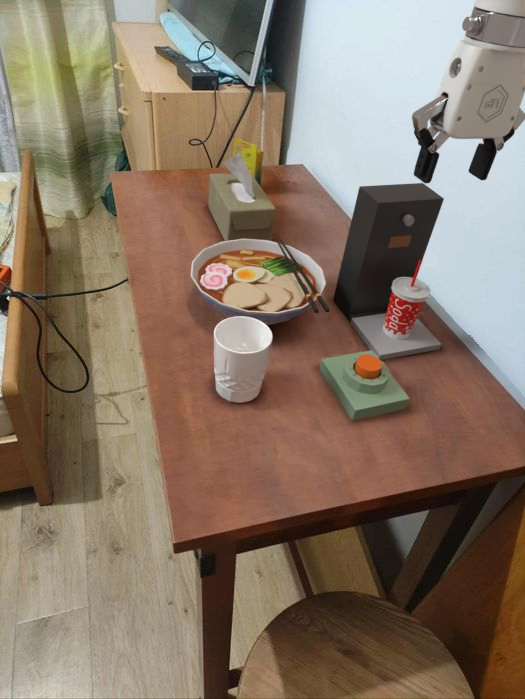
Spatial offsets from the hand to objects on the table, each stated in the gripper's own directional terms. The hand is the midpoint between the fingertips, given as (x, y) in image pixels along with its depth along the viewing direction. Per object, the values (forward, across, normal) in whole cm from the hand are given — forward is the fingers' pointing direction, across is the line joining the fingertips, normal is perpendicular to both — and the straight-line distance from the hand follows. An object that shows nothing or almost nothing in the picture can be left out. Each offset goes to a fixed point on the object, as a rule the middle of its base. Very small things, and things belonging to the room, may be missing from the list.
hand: (449, 177), depth 70 cm
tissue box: (+28, -14, +43) cm, 53 cm away
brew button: (+25, -12, -10) cm, 29 cm away
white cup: (+28, -30, -5) cm, 42 cm away
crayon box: (+28, -6, +62) cm, 68 cm away
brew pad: (+28, -12, -10) cm, 32 cm away
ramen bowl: (+28, -21, +13) cm, 38 cm away
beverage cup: (+27, 0, 0) cm, 27 cm away
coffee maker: (+28, 0, +4) cm, 28 cm away
